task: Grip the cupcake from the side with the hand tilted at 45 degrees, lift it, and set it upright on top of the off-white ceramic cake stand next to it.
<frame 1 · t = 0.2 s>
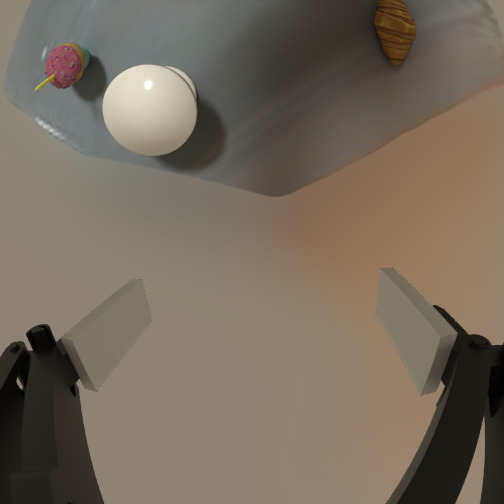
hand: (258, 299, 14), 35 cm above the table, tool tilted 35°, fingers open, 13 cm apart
cake stand: (165, 95, 37), on the table
croissant: (390, 24, 24), on the table
cupcake: (80, 58, 30), on the table
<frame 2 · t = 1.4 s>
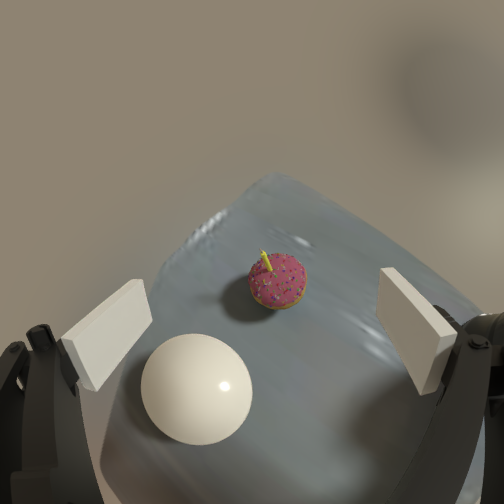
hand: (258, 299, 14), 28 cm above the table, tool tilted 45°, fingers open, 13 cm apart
cake stand: (210, 390, 37), on the table
cupcake: (279, 291, 43), on the table
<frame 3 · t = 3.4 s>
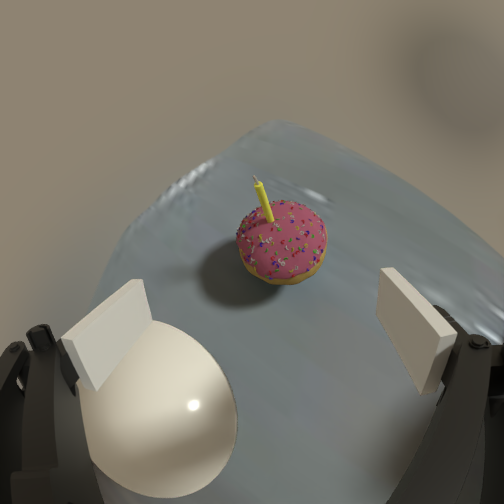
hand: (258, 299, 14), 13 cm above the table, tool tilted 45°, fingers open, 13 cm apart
cake stand: (177, 408, 23), on the table
cupcake: (284, 261, 29), on the table
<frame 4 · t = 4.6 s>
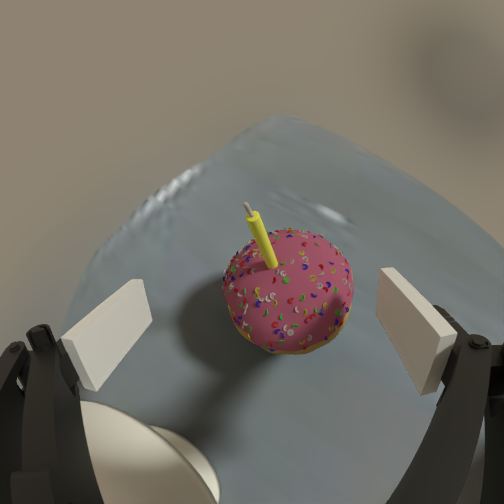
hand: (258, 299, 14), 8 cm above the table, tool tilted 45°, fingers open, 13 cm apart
cake stand: (157, 480, 15), on the table
cupcake: (290, 308, 21), on the table
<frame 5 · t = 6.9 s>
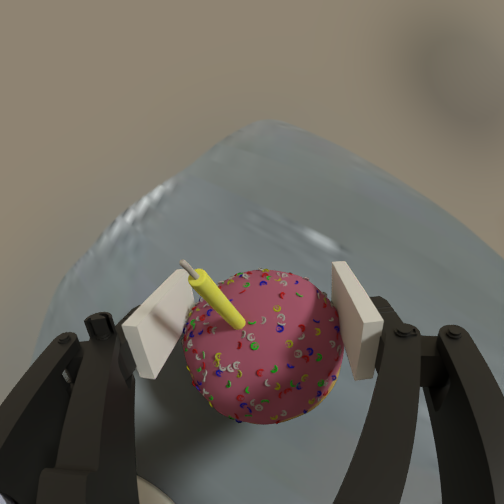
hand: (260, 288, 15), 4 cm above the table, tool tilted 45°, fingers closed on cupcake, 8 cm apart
cupcake: (269, 355, 18), on the table, touching gripper
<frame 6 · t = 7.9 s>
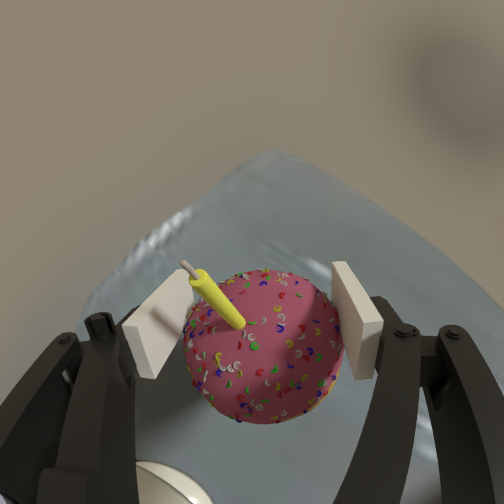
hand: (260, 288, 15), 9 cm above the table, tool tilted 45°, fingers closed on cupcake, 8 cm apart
cupcake: (269, 355, 18), point 5 cm above the table, touching gripper
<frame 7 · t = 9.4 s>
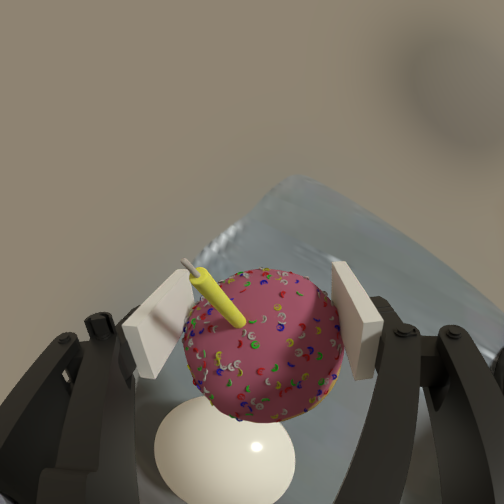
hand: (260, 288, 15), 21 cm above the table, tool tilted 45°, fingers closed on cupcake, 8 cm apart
cake stand: (235, 445, 28), on the table
cupcake: (270, 355, 18), point 17 cm above the table, touching gripper
when the fingers open (14 cm above the table, at t = 12.6 s): cupcake drops 1 cm, resting on cake stand.
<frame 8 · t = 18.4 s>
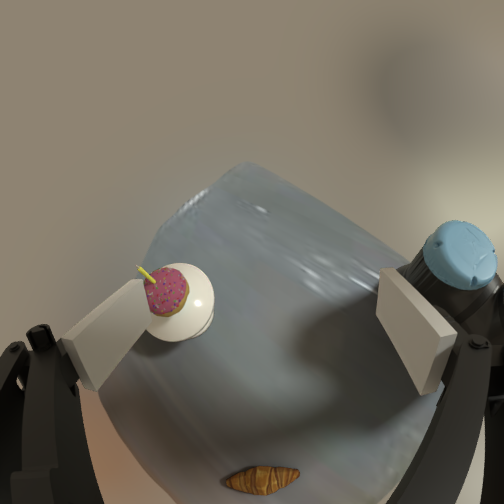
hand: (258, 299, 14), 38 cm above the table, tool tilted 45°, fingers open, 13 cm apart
cake stand: (188, 312, 54), on the table
croissant: (263, 477, 36), on the table
cupcake: (175, 300, 47), point 8 cm above the table, touching cake stand
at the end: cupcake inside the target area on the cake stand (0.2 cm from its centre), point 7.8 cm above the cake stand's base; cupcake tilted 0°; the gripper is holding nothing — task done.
